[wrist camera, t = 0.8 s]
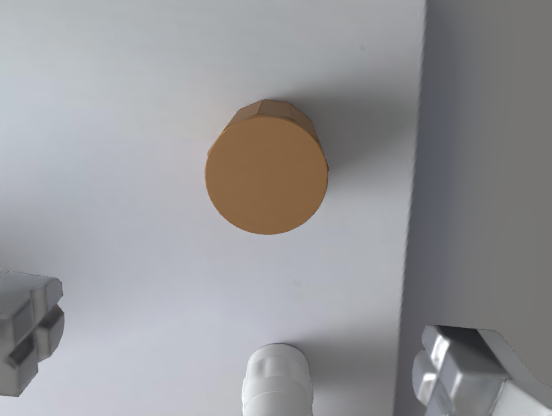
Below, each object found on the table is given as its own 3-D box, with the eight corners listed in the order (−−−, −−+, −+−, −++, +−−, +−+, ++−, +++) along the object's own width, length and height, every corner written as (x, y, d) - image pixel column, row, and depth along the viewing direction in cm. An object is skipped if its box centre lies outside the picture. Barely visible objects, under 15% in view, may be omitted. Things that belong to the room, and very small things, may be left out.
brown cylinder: (227, 94, 23) (209, 107, 18) (325, 107, 23) (338, 125, 18) (219, 188, 25) (200, 227, 20) (309, 199, 25) (316, 241, 20)
